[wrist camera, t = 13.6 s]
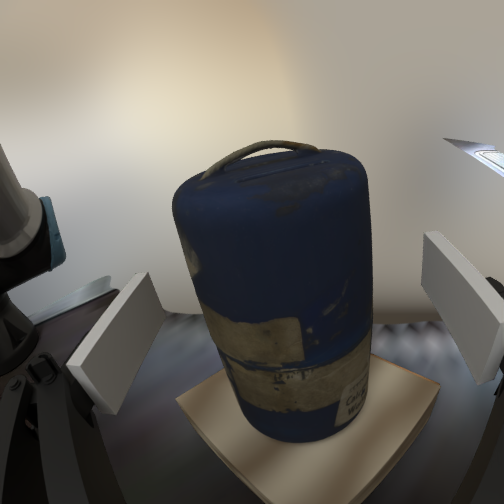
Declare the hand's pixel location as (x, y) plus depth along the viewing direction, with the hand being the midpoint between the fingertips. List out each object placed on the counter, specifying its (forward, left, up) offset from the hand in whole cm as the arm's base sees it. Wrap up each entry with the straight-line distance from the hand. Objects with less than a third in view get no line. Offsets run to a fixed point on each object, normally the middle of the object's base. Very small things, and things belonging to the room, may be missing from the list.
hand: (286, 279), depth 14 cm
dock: (-2, +1, -17) cm, 17 cm away
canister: (-2, +2, -12) cm, 13 cm away
